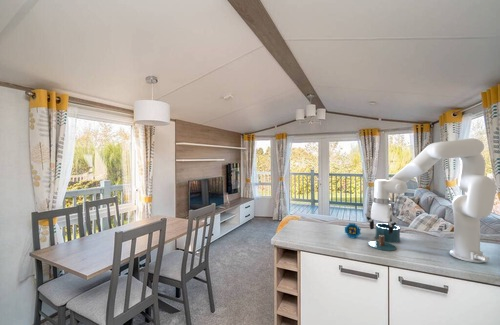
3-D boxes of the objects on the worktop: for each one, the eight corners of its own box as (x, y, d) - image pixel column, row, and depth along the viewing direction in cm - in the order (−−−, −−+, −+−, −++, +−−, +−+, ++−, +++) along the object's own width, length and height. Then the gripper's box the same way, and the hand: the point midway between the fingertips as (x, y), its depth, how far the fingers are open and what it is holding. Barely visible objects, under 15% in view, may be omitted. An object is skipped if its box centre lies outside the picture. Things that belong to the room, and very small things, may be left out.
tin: (404, 242, 130) (404, 229, 130) (385, 244, 129) (385, 229, 129) (388, 235, 143) (388, 223, 143) (371, 236, 141) (371, 223, 141)
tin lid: (402, 251, 118) (402, 239, 118) (379, 252, 116) (379, 240, 116) (383, 242, 132) (383, 231, 132) (362, 243, 130) (362, 232, 130)
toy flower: (357, 237, 150) (361, 239, 134) (343, 235, 153) (345, 237, 137) (357, 223, 152) (360, 224, 136) (343, 222, 155) (344, 222, 139)
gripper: (401, 202, 119) (400, 233, 120) (368, 198, 133) (368, 226, 133) (396, 204, 115) (395, 236, 115) (362, 199, 129) (362, 228, 129)
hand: (380, 231), depth 124 cm, fingers open, 9 cm apart
